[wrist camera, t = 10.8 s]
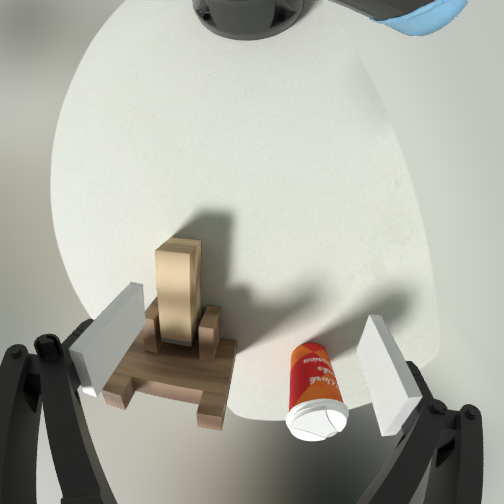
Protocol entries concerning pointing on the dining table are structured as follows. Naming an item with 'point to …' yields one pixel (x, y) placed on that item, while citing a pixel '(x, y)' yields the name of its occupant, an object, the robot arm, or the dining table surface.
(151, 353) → the brown notched piece
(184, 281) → the tan wooden block
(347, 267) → the dining table surface
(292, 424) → the coffee cup
